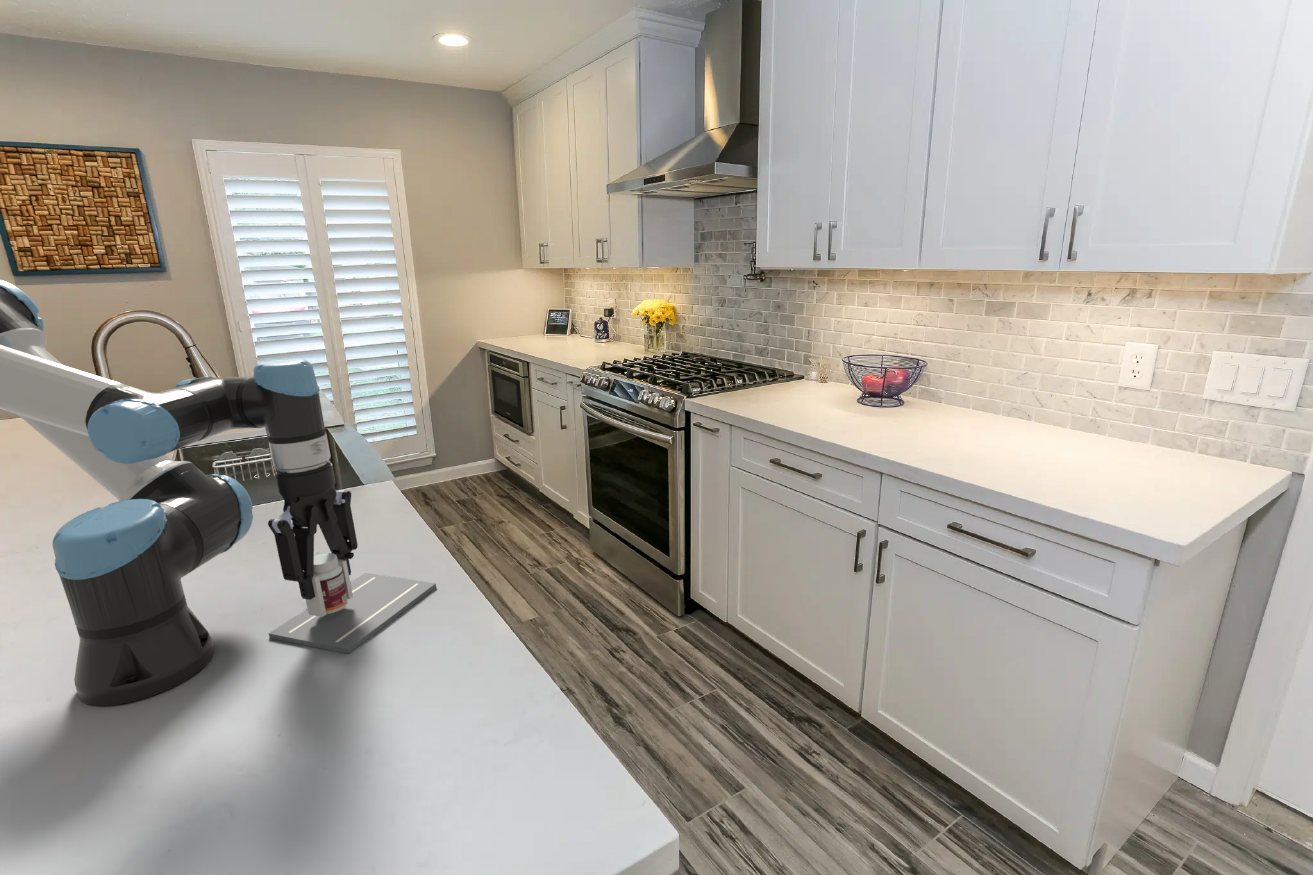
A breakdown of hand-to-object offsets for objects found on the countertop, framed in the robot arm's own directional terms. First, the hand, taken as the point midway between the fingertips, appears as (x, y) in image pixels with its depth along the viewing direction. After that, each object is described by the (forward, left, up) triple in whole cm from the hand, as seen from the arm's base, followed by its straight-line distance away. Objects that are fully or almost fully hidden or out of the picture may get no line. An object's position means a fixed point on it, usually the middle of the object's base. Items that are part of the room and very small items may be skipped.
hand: (331, 605), depth 101 cm
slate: (+3, -2, -2) cm, 4 cm away
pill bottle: (0, 0, -1) cm, 1 cm away
